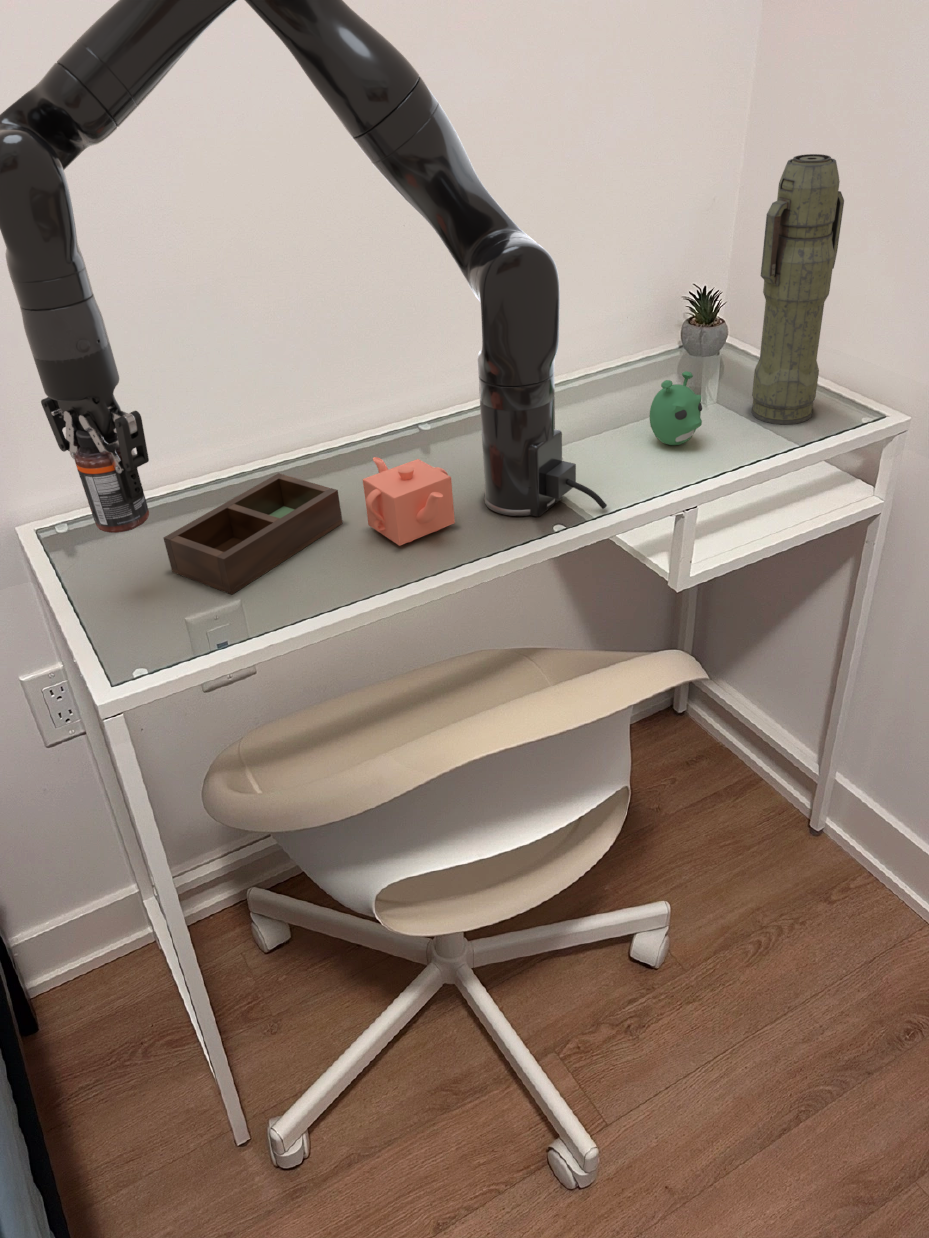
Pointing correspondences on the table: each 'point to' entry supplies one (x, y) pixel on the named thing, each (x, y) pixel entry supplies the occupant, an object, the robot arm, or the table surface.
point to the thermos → (796, 287)
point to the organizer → (253, 532)
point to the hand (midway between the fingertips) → (114, 493)
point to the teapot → (408, 500)
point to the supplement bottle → (106, 489)
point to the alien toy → (675, 412)
